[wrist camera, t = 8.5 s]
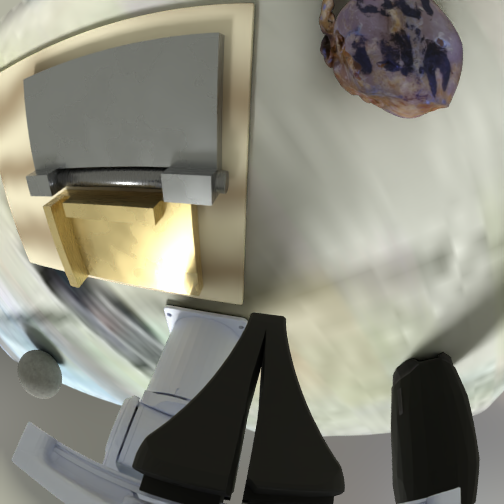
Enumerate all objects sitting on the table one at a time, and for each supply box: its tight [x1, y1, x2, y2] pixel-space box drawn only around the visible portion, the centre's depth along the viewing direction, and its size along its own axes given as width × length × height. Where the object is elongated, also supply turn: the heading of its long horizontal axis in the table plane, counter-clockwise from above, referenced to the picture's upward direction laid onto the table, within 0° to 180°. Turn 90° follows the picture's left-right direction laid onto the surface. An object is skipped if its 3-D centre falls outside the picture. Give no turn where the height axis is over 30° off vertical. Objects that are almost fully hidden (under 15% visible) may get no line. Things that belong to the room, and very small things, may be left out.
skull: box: [319, 0, 463, 118], centre depth 8 cm, size 12×8×6 cm, turn 176°
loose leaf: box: [43, 190, 203, 296], centre depth 20 cm, size 8×12×3 cm
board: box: [0, 3, 255, 305], centre depth 19 cm, size 22×26×1 cm
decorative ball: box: [18, 350, 62, 399], centre depth 40 cm, size 10×10×10 cm
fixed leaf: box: [23, 32, 229, 206], centre depth 15 cm, size 10×17×2 cm, turn 88°
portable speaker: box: [391, 352, 479, 504], centre depth 19 cm, size 9×9×20 cm
